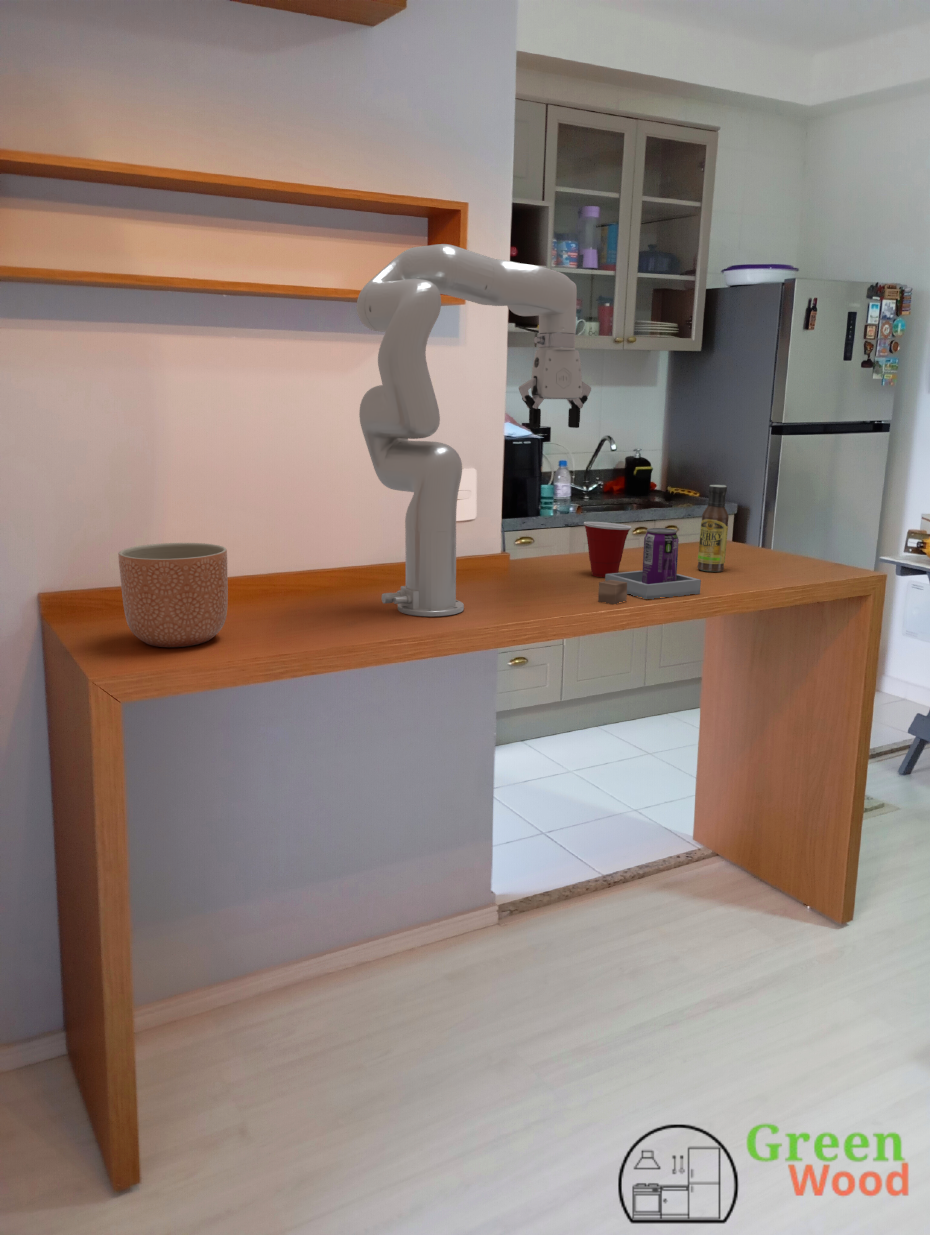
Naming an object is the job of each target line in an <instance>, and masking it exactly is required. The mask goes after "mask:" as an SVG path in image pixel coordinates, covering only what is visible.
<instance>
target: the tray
mask: <svg viewBox="0 0 930 1235" xmlns="http://www.w3.org/2000/svg"><path fill="white" fill-rule="evenodd" d="M642 571H643V569H642V570H632V571H623V572H618V573H611V574H605V577H604V580H605V581H608V580H615V581H621V582H627V594H631V595H633V596H632V597H634V596H638V597H642V598H644V599H652V600H655V599H654V598H660V597H669V598H674V597H673V596H678V597H685V596H684V595H686V596H691V595H690V594H695V595H700V594H701V584H702V583H701V582H702V580H701V579H699V578H695V577H691V576H687V575H684V574H679V573H677V578H676V581H673V582H664V583H655V584H645V583H642ZM631 595H630V596H631ZM638 597H637V598H638ZM644 599H643V600H644Z"/></svg>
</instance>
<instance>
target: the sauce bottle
mask: <svg viewBox="0 0 930 1235" xmlns="http://www.w3.org/2000/svg"><path fill="white" fill-rule="evenodd" d="M727 493H728V486H727V485H725V484H710V485H709V486H708V501H707V507H706V508H705V509H704V510H703V512H702V515H701V522H700V528H699V531H700V532H699V542H698V543H699V544H698V552H697V562H698V563H697V569H699V570H700V571H704V572H709V573H710V572H711V573H721V572H723V571H724V570H725V566H724V565H725V563H726V562H725V561H726V553H727V544H728V542H727V541H728V534H729V531H728V530H729V517H730V516H729V512H728V511H727V509H726V494H727Z"/></svg>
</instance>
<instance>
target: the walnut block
mask: <svg viewBox="0 0 930 1235" xmlns="http://www.w3.org/2000/svg"><path fill="white" fill-rule="evenodd" d="M597 595H598V597H597V602H598V603H602V602H606V603H605V604H608V603H609V605H613V604H616V605H618V604H617V603H619V602H623V601H626V602H627V597H628V596H627V582H621V581H615V580H608V581H599V582H598V594H597Z"/></svg>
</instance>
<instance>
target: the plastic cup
mask: <svg viewBox="0 0 930 1235" xmlns="http://www.w3.org/2000/svg"><path fill="white" fill-rule="evenodd" d="M583 526H584V527H585V528H584V529H585V532H586V533H585V534H586V539H587V548H588V549H587V550H588V557H589V558H588V559H589V562H590V570H591V571H590V572H591V575H592V576H593V577H597V578H605V574H611V573H619V570H620V567H621V566H620V565H621V562H622V558H623V554H624V549H625V545H626V544H625V543H626V540H627V537H628V535H629V532H630V531H631V529H632V526H631V525H626V524H622V523H614V522H606V521H584V522H583Z"/></svg>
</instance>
